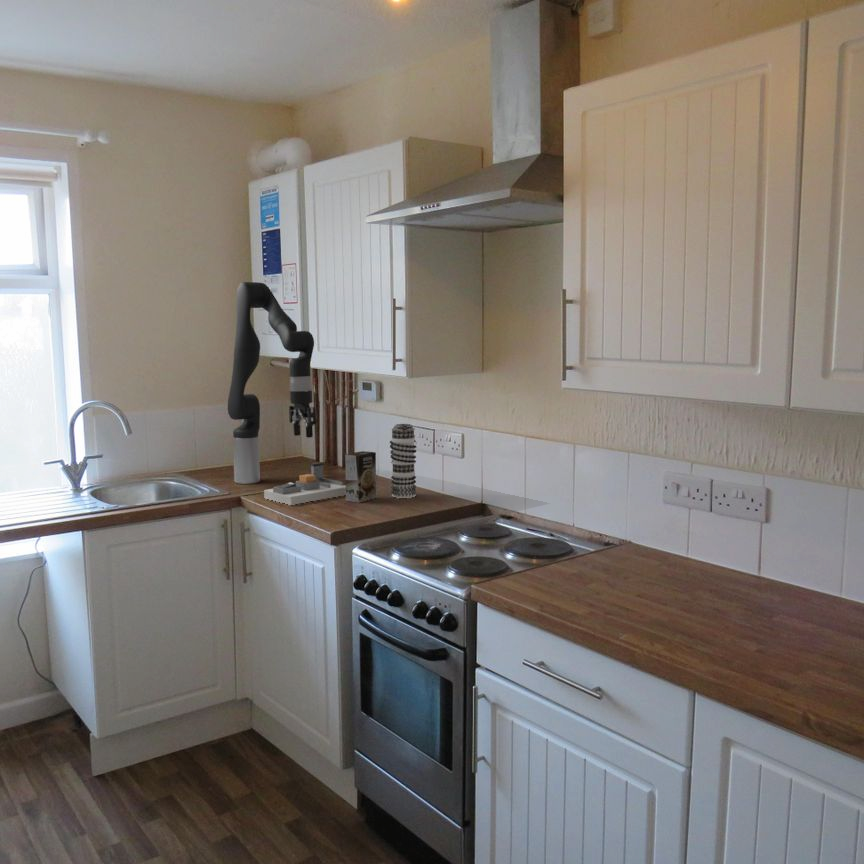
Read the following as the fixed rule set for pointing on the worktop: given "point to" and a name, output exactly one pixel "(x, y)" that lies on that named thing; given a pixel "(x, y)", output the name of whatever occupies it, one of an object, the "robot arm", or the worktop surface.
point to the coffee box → (360, 476)
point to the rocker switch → (287, 485)
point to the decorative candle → (403, 461)
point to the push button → (307, 478)
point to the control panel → (306, 492)
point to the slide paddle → (317, 470)
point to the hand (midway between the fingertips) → (303, 436)
